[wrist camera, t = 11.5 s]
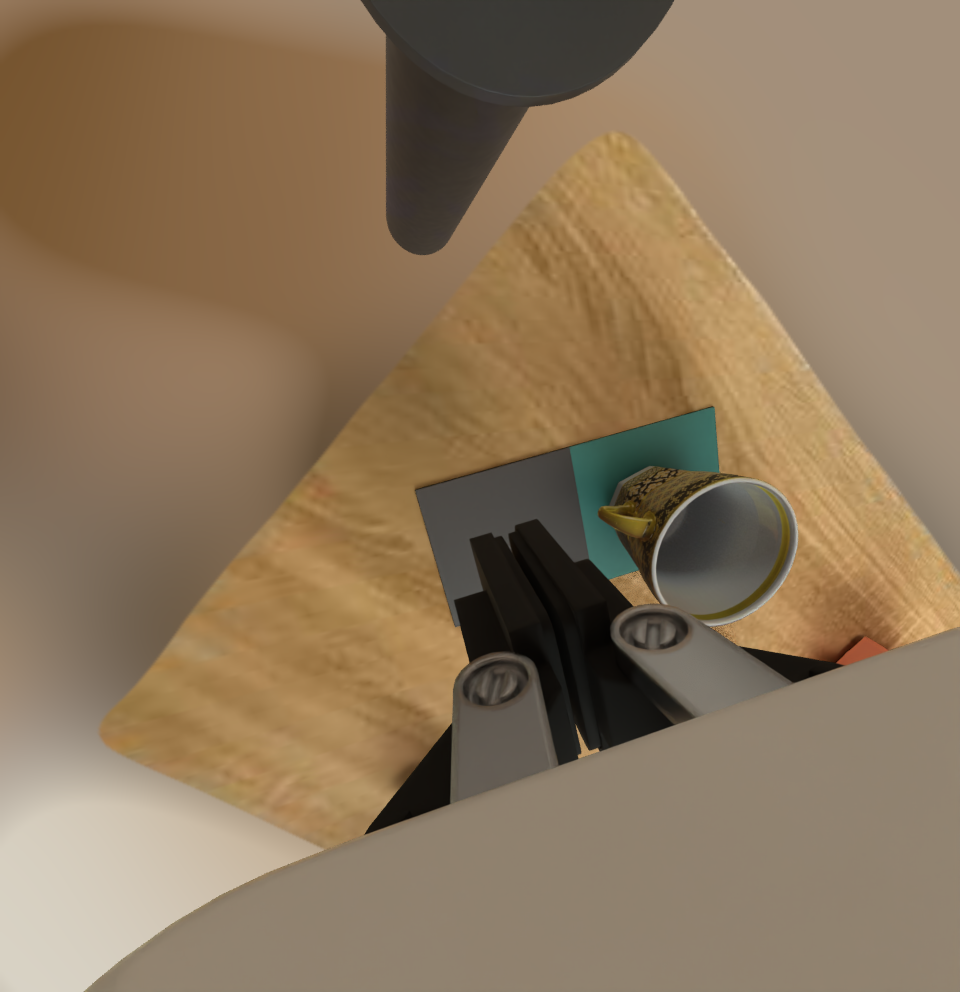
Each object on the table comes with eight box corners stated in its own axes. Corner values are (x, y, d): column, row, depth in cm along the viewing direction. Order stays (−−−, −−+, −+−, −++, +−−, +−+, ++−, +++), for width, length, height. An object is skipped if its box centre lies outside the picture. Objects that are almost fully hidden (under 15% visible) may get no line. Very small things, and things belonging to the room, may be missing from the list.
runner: (414, 489, 36) (415, 490, 36) (712, 406, 39) (714, 406, 38) (455, 625, 40) (455, 627, 40) (723, 542, 42) (724, 543, 42)
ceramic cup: (722, 465, 40) (826, 502, 31) (673, 574, 42) (755, 640, 33) (581, 417, 37) (649, 443, 27) (536, 539, 39) (583, 601, 29)
